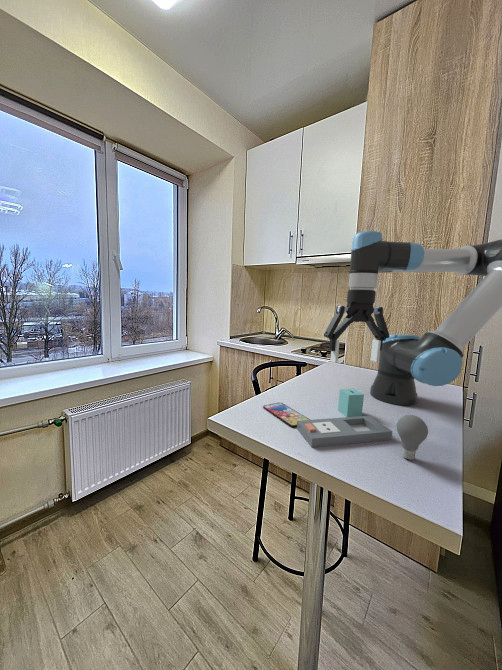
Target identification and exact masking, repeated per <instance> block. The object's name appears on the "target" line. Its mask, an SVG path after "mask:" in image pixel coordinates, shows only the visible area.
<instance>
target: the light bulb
mask: <svg viewBox="0 0 502 670" xmlns="http://www.w3.org/2000/svg"><path fill="white" fill-rule="evenodd" d="M396 431H397V434H398V435H399V438H400V442H401V446H402V448H401V449H402V450H401V456H402V457H403V458H405V459H406V460H415V459H416V452H417V450H418V449H419V446H420V445H421V444H422V443H423V442H424V441H425V440H427V437H428V434H429V429H428V426H427V423H426V422H425V421H424V419H422V418H421V417H419V416H417V415H413V414H406V415H403V416H401V417H400V418H399V419H398V420H397V423H396Z"/></svg>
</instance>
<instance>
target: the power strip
mask: <svg viewBox="0 0 502 670" xmlns="http://www.w3.org/2000/svg"><path fill="white" fill-rule="evenodd" d="M296 430H298V432H299V433H300V434H301V436H302V438H303V439H304V440H305V441H306V442H307V444H308V445H309V446H310V447H311V448H317V447H327V446H338V445H348V444H349V445H350V444H358V443H369V442H370V441H371V442H379V441H380V440H381V441H388V440H389V441H390V439H391V440H392V438H393V430H391V429H390V428H388V427H387V426H386V425H384V424H383V423H381V422H379V420H376V419H375V418H374V417H372V416H371V415H362V416H356V417H345V416H343V417H331V418H320V419H319V418H318V419H317V418H316V419H310V420H302V421H297V427H296Z"/></svg>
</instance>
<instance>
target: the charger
mask: <svg viewBox="0 0 502 670" xmlns="http://www.w3.org/2000/svg"><path fill="white" fill-rule="evenodd" d="M364 398H365V394H364V393H362V392H361V391H359V390H358V389H355V388H340V389H339V393H338V405H337V411H338V412H339V413H341V414H342V416H343V417H356V416H363V406H364Z"/></svg>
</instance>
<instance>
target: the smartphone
mask: <svg viewBox="0 0 502 670" xmlns="http://www.w3.org/2000/svg"><path fill="white" fill-rule="evenodd" d="M262 408H263V409H264V410H265V411H266V412H268V413H269V414H270V415H272V416H273V417H275V418H276V419H278V420H279V421H281V422H282V423H284V424H285V425H286V426H287V427H289V428H292V429H295V428H296V429H297V421H302V420H311V419H310V418H309V417H306V416H305V415H303V414H301V412H298V411H297V410H296V409H294V408H291V407H290V406H288V405H287V404H284V403H283V402H274V403H269V404H266V405H265V404H264V405H263V406H262Z"/></svg>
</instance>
